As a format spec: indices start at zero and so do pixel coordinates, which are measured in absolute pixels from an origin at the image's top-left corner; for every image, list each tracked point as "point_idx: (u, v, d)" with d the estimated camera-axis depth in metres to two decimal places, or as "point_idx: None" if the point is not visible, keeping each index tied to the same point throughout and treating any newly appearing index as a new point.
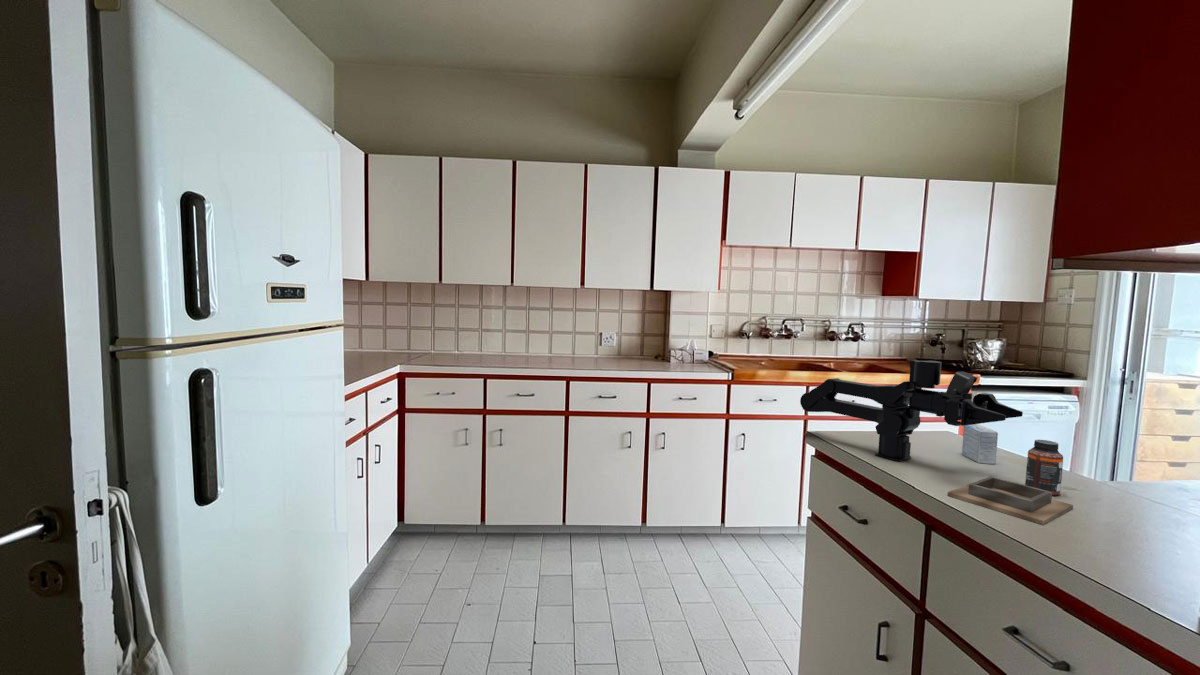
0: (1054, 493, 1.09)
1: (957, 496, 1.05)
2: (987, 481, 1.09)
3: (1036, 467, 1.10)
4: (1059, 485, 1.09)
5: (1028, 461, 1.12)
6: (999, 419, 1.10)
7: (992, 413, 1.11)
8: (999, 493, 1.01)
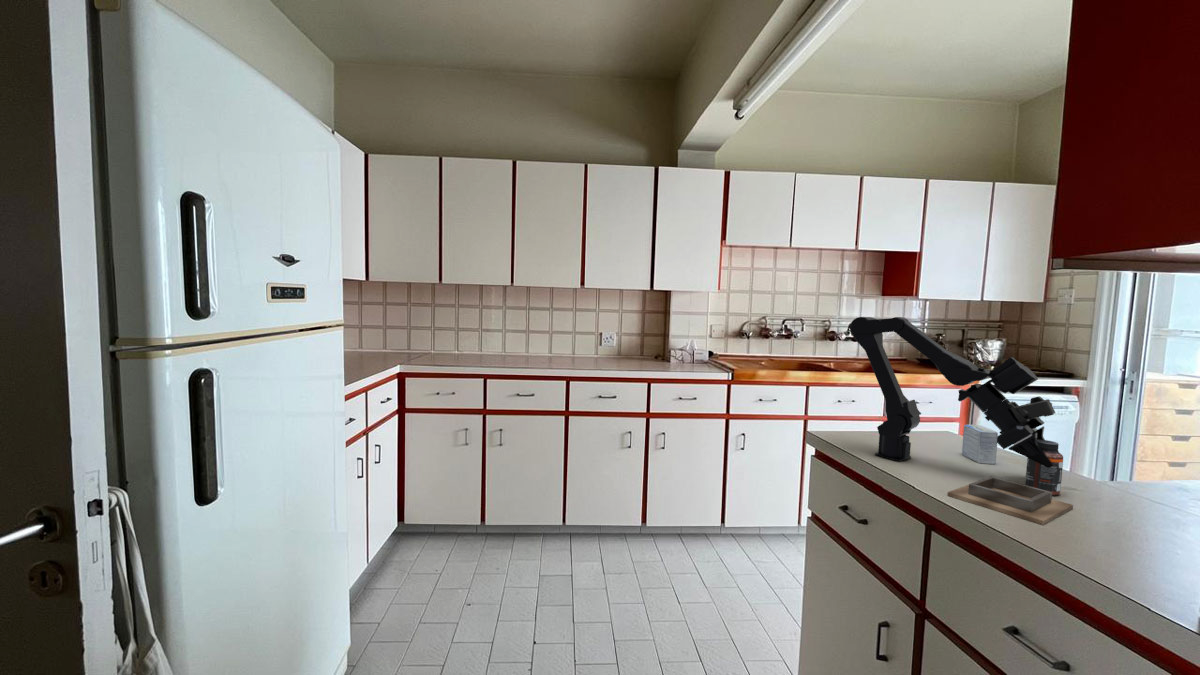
0: (1054, 493, 1.09)
1: (957, 496, 1.05)
2: (987, 481, 1.09)
3: (1036, 467, 1.10)
4: (1059, 485, 1.09)
5: (1028, 461, 1.12)
6: (1045, 464, 1.08)
7: (1044, 457, 1.08)
8: (999, 493, 1.01)
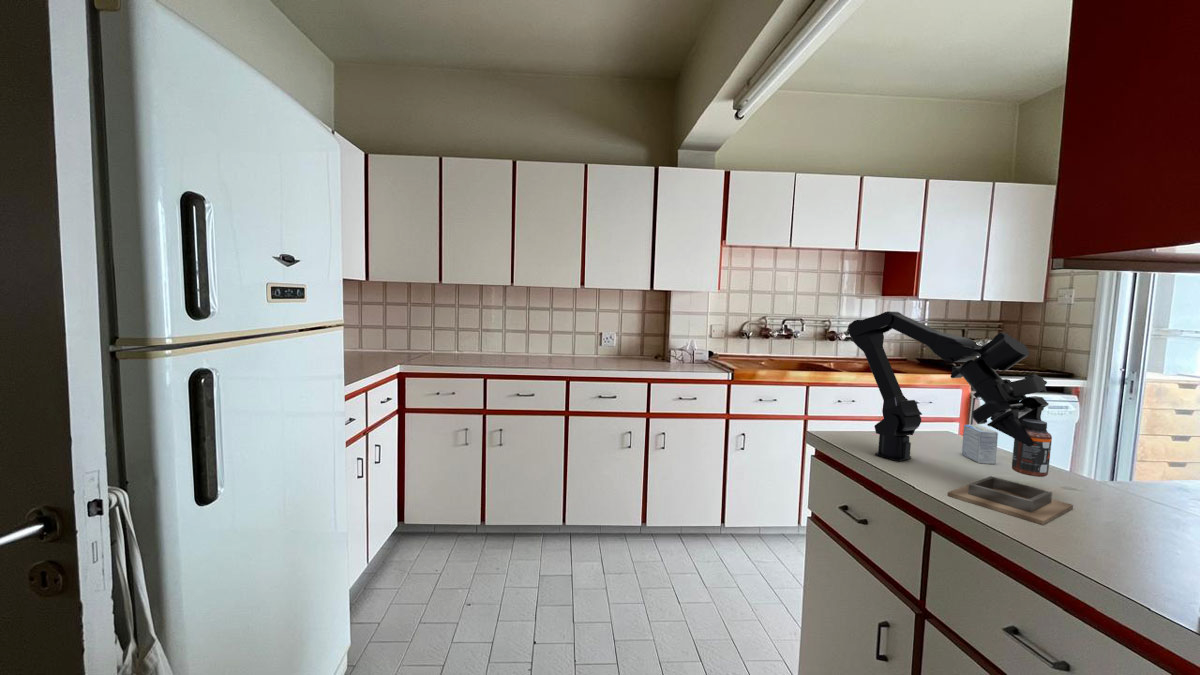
0: (1037, 474, 1.04)
1: (957, 496, 1.05)
2: (987, 481, 1.09)
3: (1018, 446, 1.06)
4: (1044, 466, 1.03)
5: (1014, 440, 1.08)
6: (1025, 443, 1.04)
7: (1024, 435, 1.04)
8: (999, 493, 1.01)
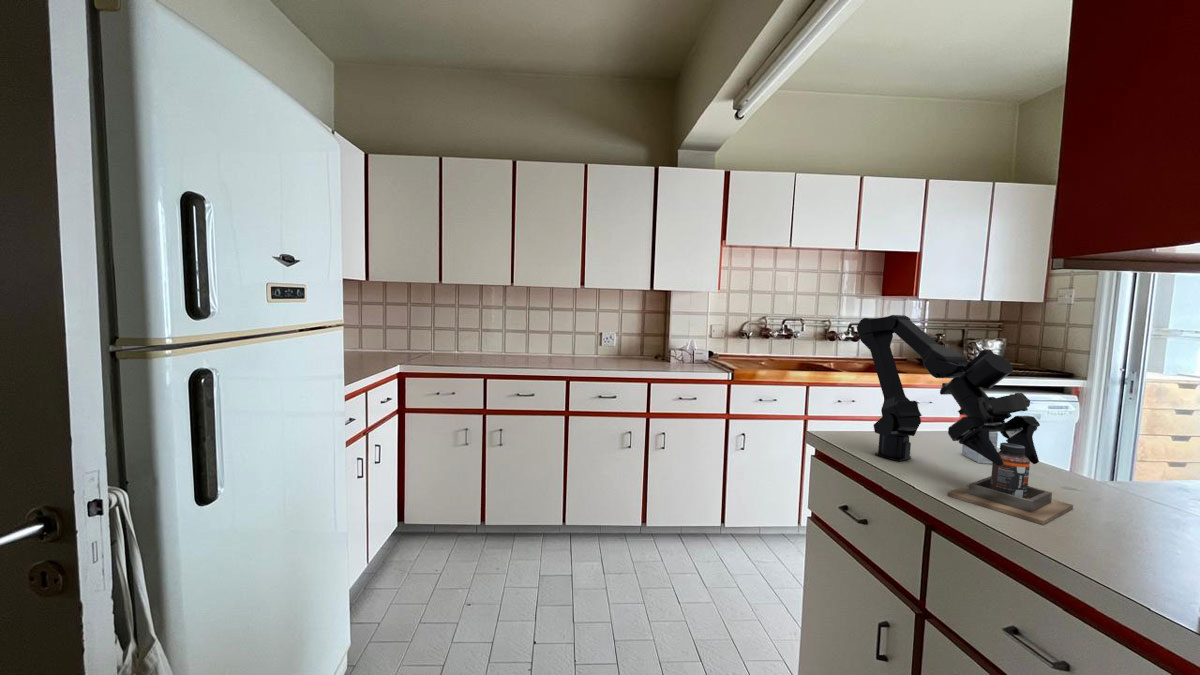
0: None
1: (957, 496, 1.05)
2: (987, 481, 1.09)
3: (994, 470, 1.05)
4: (1019, 492, 1.02)
5: (992, 464, 1.06)
6: (995, 462, 1.02)
7: (993, 454, 1.02)
8: (999, 493, 1.01)
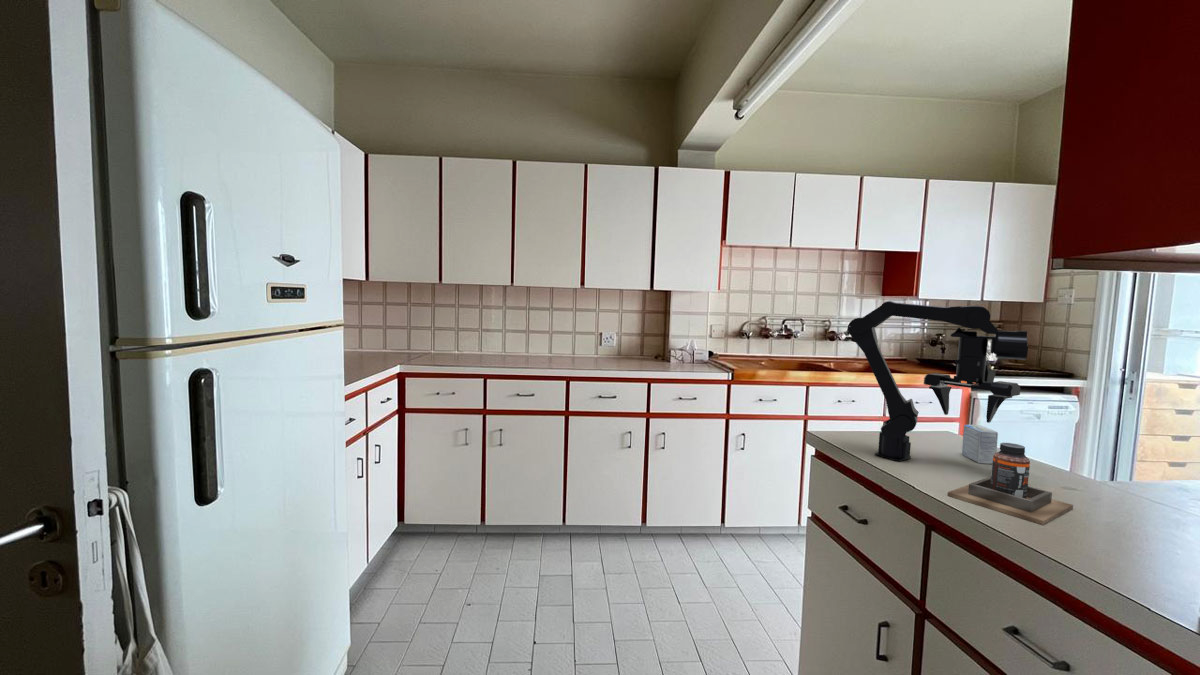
0: None
1: (957, 496, 1.05)
2: (987, 481, 1.09)
3: (994, 470, 1.05)
4: (1019, 492, 1.02)
5: (992, 464, 1.06)
6: (990, 419, 1.20)
7: (994, 414, 1.20)
8: (999, 493, 1.01)
